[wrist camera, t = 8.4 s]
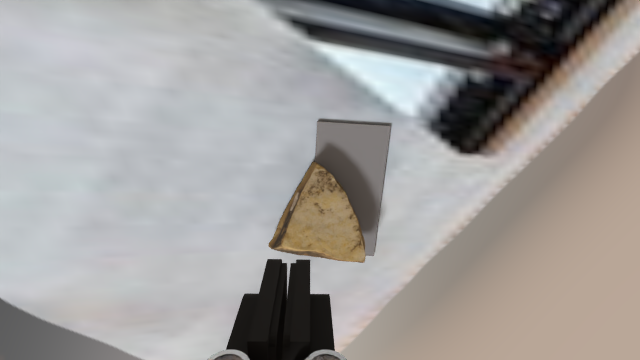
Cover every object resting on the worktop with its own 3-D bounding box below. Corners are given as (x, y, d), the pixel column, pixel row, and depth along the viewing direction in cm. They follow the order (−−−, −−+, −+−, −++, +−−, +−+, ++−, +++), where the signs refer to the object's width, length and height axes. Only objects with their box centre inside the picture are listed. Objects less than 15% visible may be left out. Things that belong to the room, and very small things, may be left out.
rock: (350, 152, 30) (342, 254, 26) (375, 181, 37) (370, 265, 34) (263, 161, 35) (246, 248, 31) (299, 185, 42) (289, 258, 38)
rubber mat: (389, 125, 33) (390, 126, 32) (373, 254, 37) (373, 255, 37) (317, 121, 32) (317, 121, 32) (309, 252, 37) (309, 253, 36)
